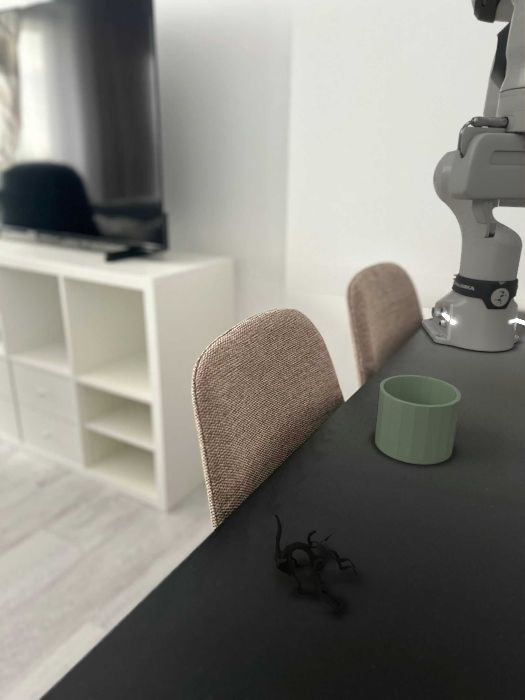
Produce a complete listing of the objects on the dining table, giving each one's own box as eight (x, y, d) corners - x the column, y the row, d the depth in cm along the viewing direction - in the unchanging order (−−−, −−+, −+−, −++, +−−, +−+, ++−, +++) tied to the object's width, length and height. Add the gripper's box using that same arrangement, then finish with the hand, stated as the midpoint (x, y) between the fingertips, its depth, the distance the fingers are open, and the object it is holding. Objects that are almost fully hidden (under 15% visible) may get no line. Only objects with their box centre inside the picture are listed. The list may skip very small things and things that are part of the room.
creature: (341, 555, 50) (262, 543, 49) (357, 509, 48) (276, 496, 47) (362, 622, 43) (269, 610, 41) (381, 571, 41) (286, 557, 40)
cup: (365, 428, 72) (369, 376, 70) (432, 425, 74) (439, 373, 71) (389, 466, 63) (396, 408, 60) (466, 462, 64) (476, 404, 62)
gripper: (481, 113, 55) (463, 242, 60) (623, 119, 61) (596, 237, 66) (445, 117, 61) (431, 235, 66) (578, 123, 67) (556, 231, 72)
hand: (515, 236), depth 66 cm, fingers open, 8 cm apart
